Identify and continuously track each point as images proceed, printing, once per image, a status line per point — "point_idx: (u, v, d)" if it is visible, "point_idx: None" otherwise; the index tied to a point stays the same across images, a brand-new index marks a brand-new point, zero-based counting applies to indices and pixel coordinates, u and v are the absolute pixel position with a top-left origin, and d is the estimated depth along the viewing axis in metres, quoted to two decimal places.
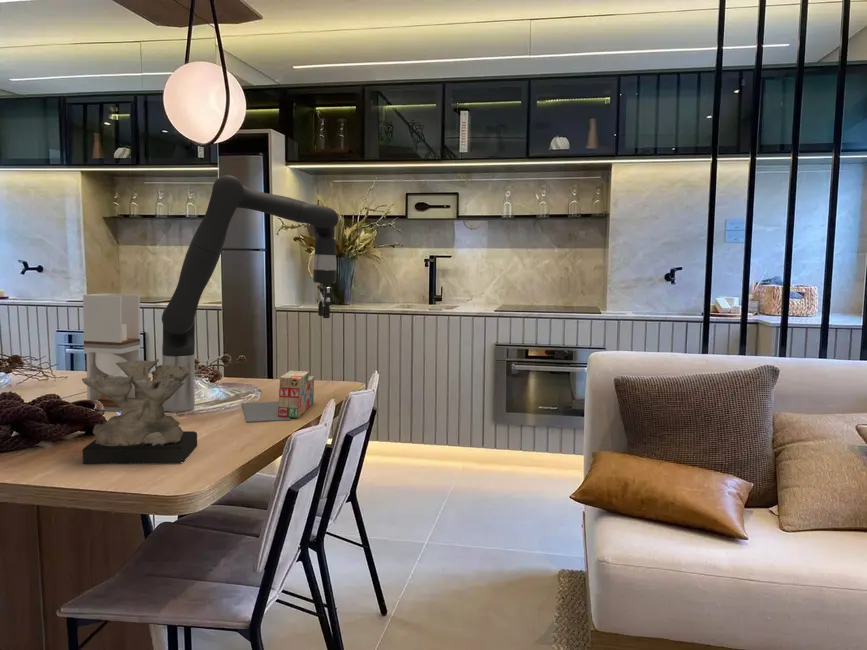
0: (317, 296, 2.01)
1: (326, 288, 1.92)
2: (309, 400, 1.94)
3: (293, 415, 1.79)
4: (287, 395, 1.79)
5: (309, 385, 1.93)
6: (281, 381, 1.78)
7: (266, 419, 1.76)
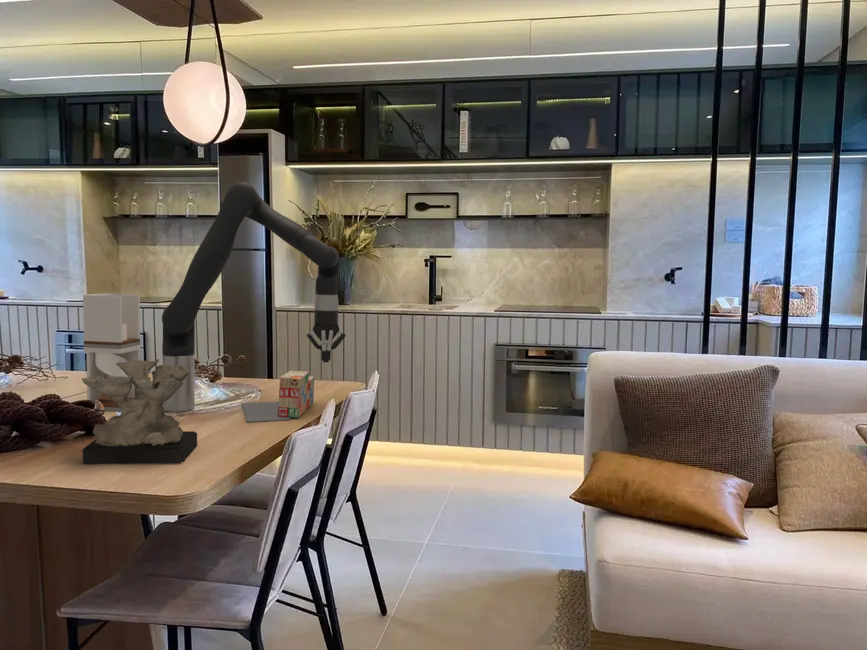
0: None
1: None
2: (309, 400, 1.94)
3: (293, 415, 1.79)
4: (287, 395, 1.79)
5: (309, 385, 1.93)
6: (281, 381, 1.78)
7: (266, 419, 1.76)
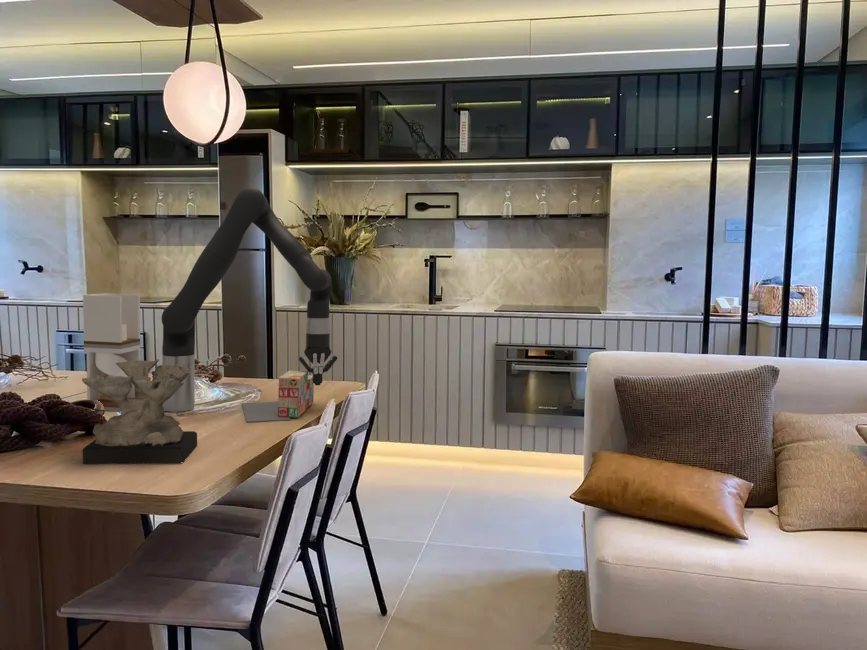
0: None
1: (298, 359, 1.89)
2: (309, 399, 1.94)
3: (293, 415, 1.79)
4: (286, 395, 1.79)
5: (308, 384, 1.92)
6: (280, 381, 1.78)
7: (266, 419, 1.76)
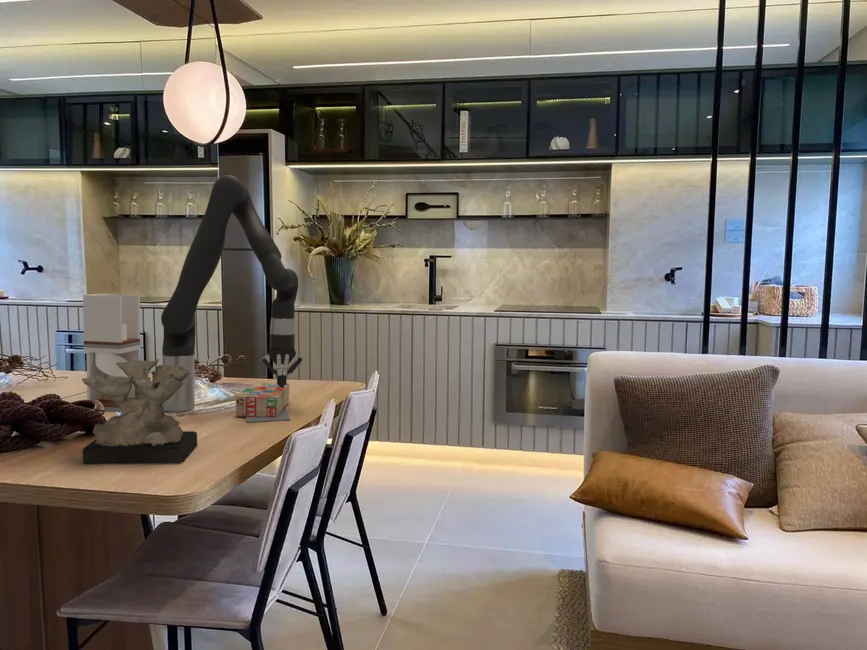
0: None
1: None
2: (279, 387, 1.93)
3: (274, 401, 1.78)
4: (254, 408, 1.78)
5: (262, 387, 1.91)
6: (240, 414, 1.78)
7: (266, 419, 1.76)
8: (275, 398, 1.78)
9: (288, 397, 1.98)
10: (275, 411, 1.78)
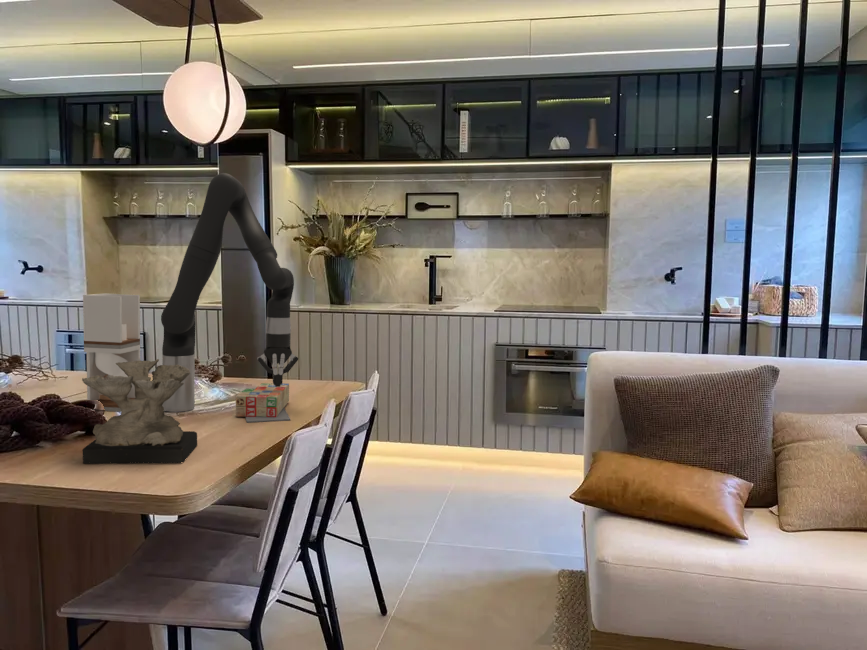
0: None
1: None
2: (279, 387, 1.93)
3: (274, 401, 1.78)
4: (254, 408, 1.78)
5: (262, 387, 1.91)
6: (240, 414, 1.78)
7: (266, 419, 1.76)
8: (275, 398, 1.78)
9: (288, 397, 1.98)
10: (275, 411, 1.78)
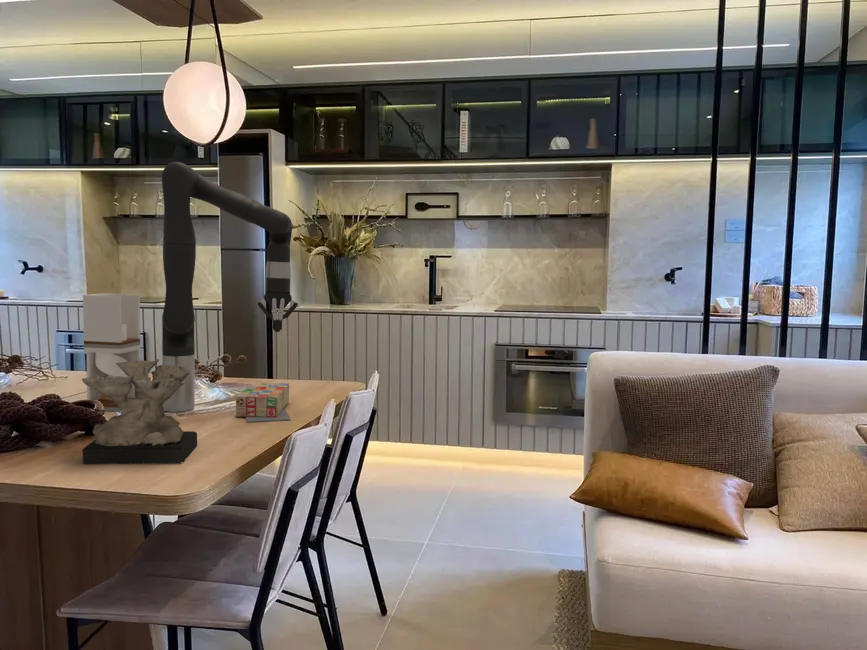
0: None
1: None
2: (279, 387, 1.93)
3: (274, 401, 1.78)
4: (254, 408, 1.78)
5: (262, 387, 1.91)
6: (240, 414, 1.78)
7: (266, 419, 1.76)
8: (275, 398, 1.78)
9: (288, 397, 1.98)
10: (275, 411, 1.78)
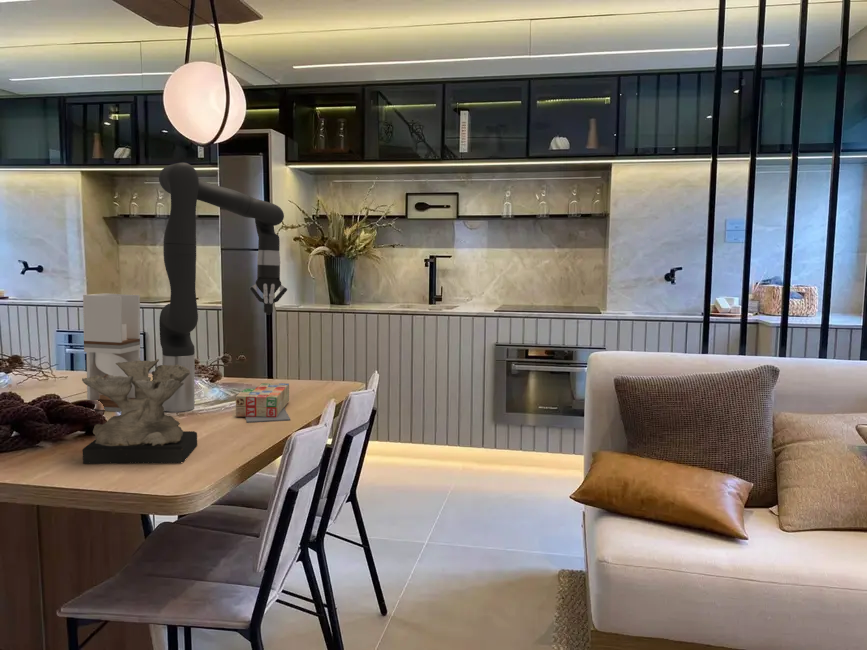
0: None
1: None
2: (279, 387, 1.93)
3: (274, 401, 1.78)
4: (254, 408, 1.78)
5: (262, 387, 1.91)
6: (240, 414, 1.78)
7: (266, 419, 1.76)
8: (275, 398, 1.78)
9: (288, 397, 1.98)
10: (275, 411, 1.78)
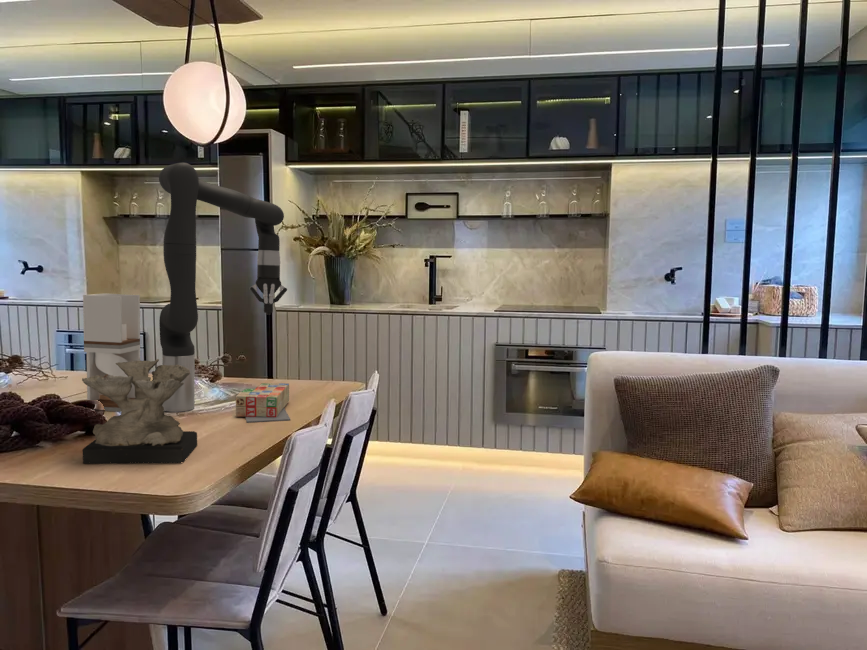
0: None
1: None
2: (279, 387, 1.93)
3: (274, 401, 1.78)
4: (254, 408, 1.78)
5: (262, 387, 1.91)
6: (240, 414, 1.78)
7: (266, 419, 1.76)
8: (275, 398, 1.78)
9: (288, 397, 1.98)
10: (275, 411, 1.78)
